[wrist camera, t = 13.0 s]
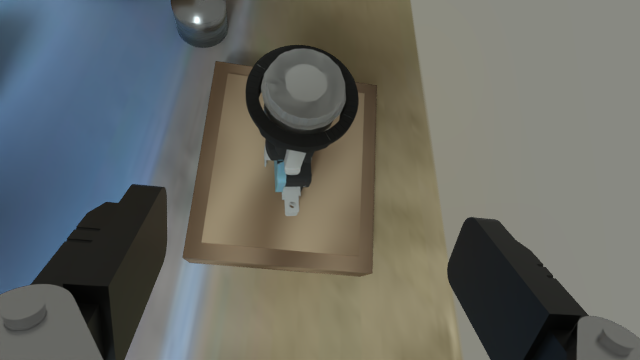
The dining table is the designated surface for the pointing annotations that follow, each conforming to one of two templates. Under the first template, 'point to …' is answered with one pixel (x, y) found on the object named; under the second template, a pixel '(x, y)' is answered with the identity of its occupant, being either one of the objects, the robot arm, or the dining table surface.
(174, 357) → the dining table surface
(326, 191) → the tray
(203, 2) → the cylinder
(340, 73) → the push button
